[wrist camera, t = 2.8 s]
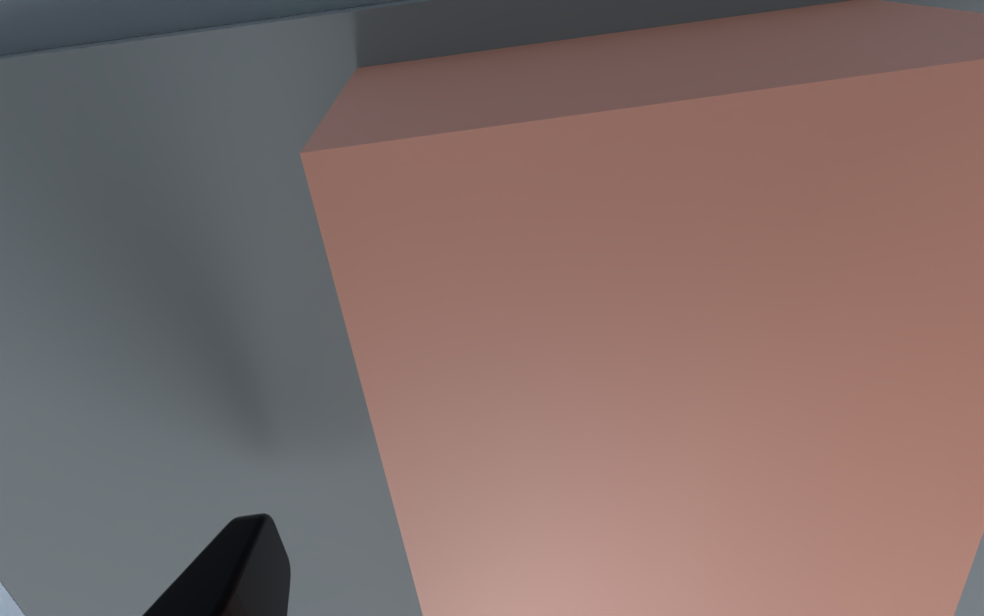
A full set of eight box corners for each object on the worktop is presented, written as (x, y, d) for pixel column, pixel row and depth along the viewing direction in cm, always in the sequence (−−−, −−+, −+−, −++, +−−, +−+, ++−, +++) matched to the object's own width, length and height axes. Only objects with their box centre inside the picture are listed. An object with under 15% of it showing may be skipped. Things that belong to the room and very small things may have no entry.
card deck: (483, 675, 11) (497, 896, 9) (356, 68, 6) (299, 152, 4) (772, 635, 11) (872, 843, 9) (864, -2, 6) (1159, 34, 4)
